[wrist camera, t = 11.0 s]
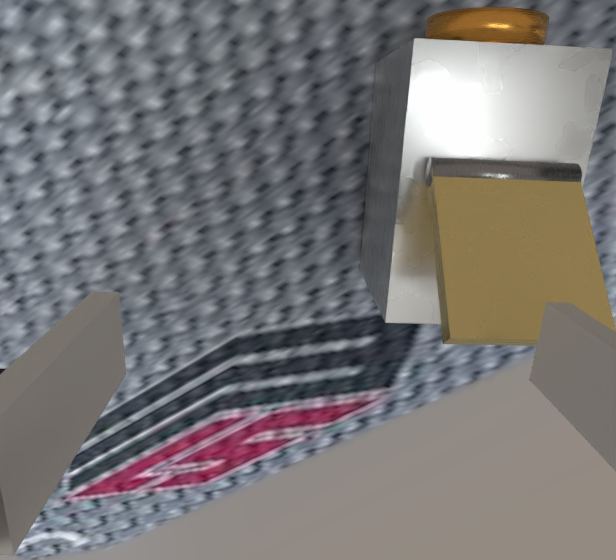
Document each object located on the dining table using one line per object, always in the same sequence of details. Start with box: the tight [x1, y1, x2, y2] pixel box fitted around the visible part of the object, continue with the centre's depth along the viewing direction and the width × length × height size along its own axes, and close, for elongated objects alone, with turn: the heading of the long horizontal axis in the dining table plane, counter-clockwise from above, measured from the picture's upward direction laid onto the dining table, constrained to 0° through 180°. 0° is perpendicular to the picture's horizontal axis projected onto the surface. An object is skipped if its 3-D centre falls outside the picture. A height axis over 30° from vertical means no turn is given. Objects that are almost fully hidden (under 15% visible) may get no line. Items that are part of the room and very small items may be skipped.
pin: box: [425, 7, 549, 45], centre depth 24 cm, size 5×12×5 cm, turn 178°
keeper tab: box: [425, 157, 616, 346], centre depth 18 cm, size 6×8×1 cm
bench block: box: [360, 38, 613, 324], centre depth 25 cm, size 8×12×8 cm, turn 178°
